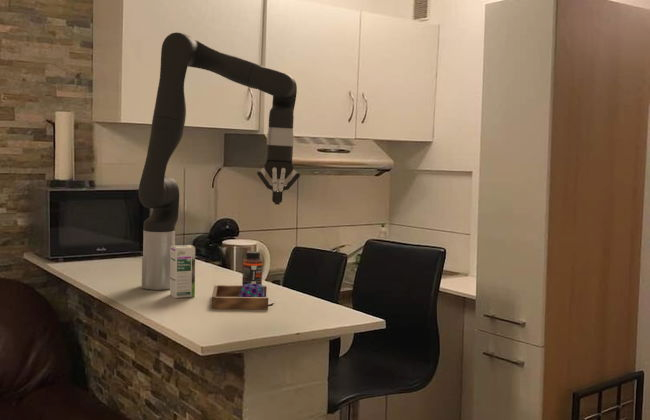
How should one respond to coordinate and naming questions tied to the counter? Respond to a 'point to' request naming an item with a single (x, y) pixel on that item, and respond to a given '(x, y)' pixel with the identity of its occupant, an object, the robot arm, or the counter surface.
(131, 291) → the counter surface
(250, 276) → the supplement bottle
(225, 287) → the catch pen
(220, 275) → the counter surface
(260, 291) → the pudding
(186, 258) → the syrup box
